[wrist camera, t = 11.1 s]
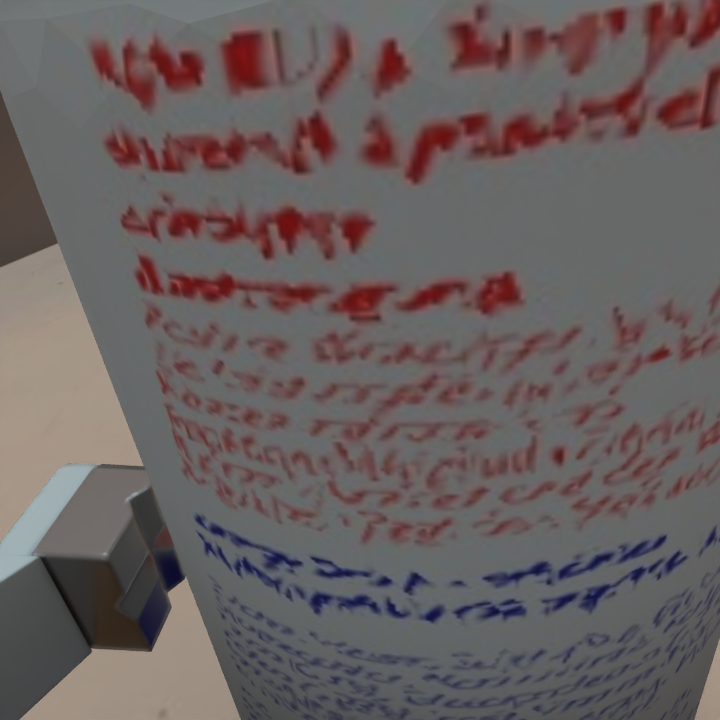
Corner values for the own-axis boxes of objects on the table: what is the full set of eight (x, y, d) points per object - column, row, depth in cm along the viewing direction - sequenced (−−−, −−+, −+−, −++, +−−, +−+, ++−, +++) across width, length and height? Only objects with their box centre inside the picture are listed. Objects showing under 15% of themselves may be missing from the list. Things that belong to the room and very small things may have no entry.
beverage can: (695, 879, 11) (1203, -340, 3) (460, 1193, 9) (127, -777, 1) (466, 653, 15) (440, -149, 7) (259, 824, 13) (-139, -114, 5)
